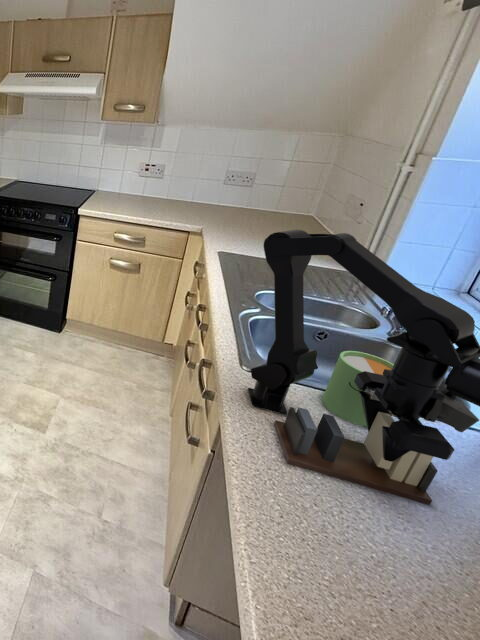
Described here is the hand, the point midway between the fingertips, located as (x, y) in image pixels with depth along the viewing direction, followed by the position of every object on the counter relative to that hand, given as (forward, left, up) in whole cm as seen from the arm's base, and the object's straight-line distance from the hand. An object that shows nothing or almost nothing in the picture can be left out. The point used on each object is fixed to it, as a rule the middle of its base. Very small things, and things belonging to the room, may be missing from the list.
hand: (379, 447), depth 75 cm
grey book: (0, -11, -4) cm, 12 cm away
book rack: (0, -4, -5) cm, 6 cm away
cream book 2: (0, +2, -4) cm, 4 cm away
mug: (-18, +4, -5) cm, 19 cm away
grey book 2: (0, -7, -4) cm, 8 cm away
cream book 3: (0, +4, -4) cm, 6 cm away
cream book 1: (0, 0, -2) cm, 2 cm away
